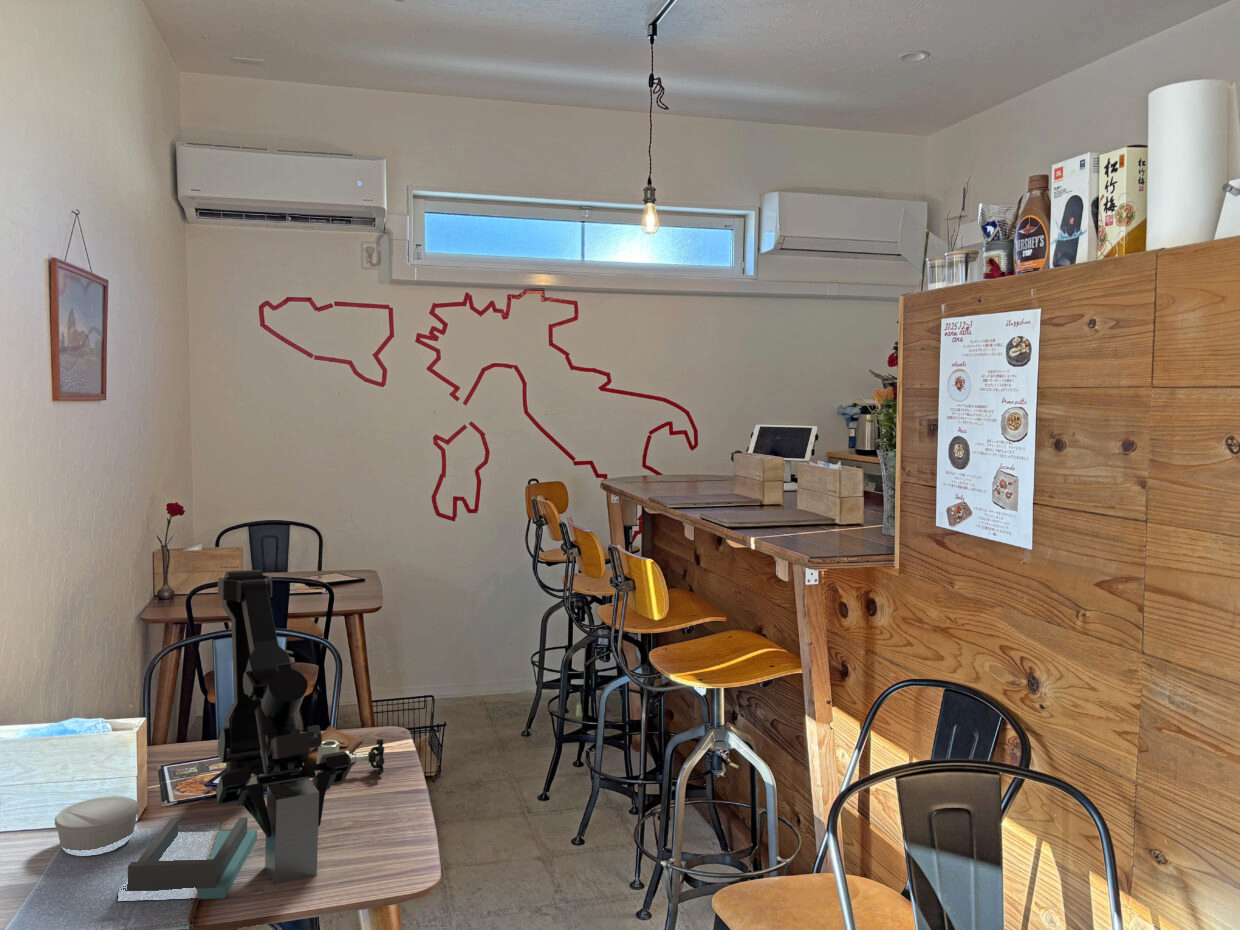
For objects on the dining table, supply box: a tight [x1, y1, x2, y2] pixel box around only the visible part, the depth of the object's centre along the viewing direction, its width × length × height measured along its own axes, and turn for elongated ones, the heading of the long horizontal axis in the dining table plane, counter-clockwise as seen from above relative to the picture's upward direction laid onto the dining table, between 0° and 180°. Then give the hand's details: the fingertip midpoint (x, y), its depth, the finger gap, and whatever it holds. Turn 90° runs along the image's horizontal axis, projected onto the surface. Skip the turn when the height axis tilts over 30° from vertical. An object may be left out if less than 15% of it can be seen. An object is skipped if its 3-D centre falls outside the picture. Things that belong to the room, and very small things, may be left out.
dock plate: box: [117, 816, 258, 900], centre depth 133 cm, size 18×14×5 cm
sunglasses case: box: [303, 725, 364, 766], centre depth 179 cm, size 18×7×7 cm, turn 5°
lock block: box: [264, 778, 319, 886], centre depth 133 cm, size 6×6×12 cm
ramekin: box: [54, 795, 140, 851], centre depth 139 cm, size 11×11×5 cm
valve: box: [317, 738, 385, 774], centre depth 170 cm, size 7×7×12 cm
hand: (294, 831), depth 132 cm, fingers open, 7 cm apart
